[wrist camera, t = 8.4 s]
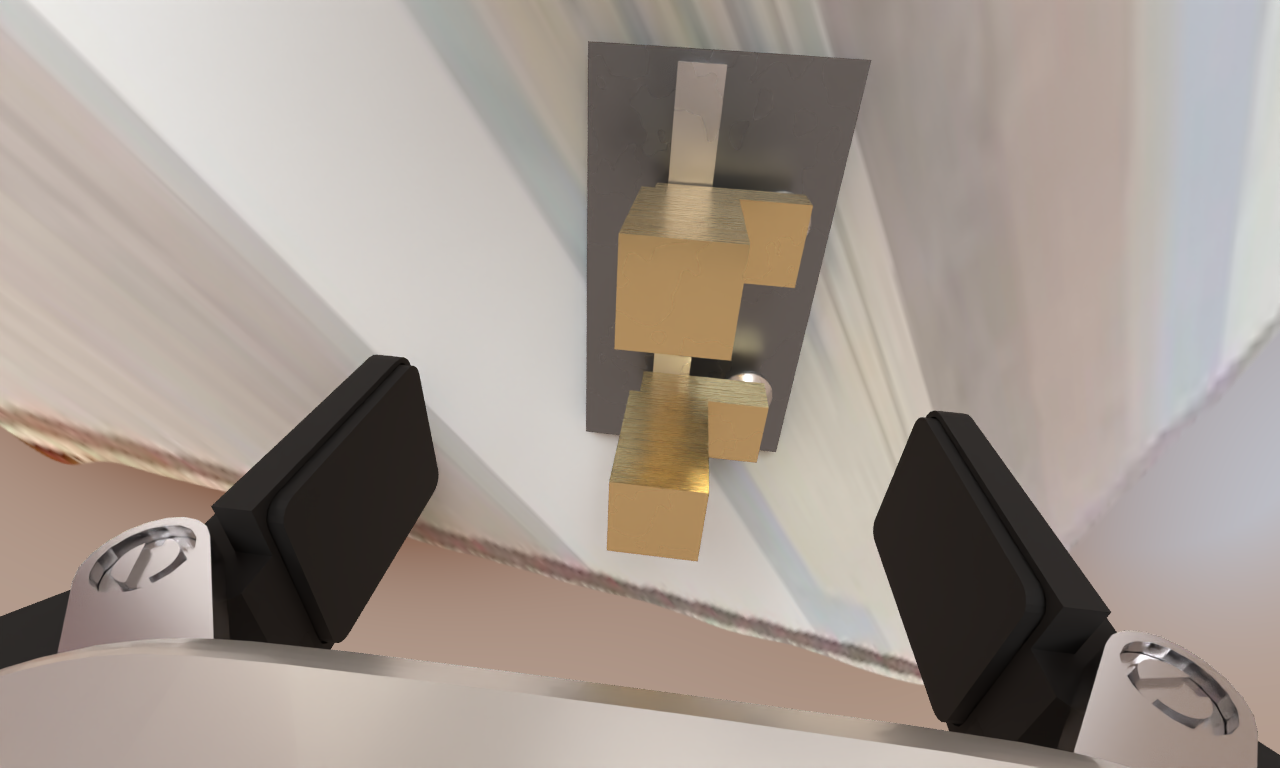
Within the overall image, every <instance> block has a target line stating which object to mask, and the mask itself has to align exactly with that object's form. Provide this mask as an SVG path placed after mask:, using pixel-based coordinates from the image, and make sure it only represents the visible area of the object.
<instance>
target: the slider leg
mask: <svg viewBox="0 0 1280 768" xmlns="http://www.w3.org/2000/svg"><path fill="white" fill-rule="evenodd" d="M812 208H813V205H812V203H811V202H810V200H809V199H808V198H807V196H806V195H803V194H791V193H779V192H766V191H754V190H742V189H729V188H717V187H705V186H692V185H680V184H668V183H657V184H656V186H655V187H645V186H641V188H640V191H639V193H638V195H637V197H636V199H635V201H634V203H633V205H632V207H631V209H630V211H629V213H628V215H627V217H626V219H625V221H624V223H623V226H622V228H621V230H620V232H619V238H618V265H617V293H616V320H615V348H614V349H618V350H628V351H639V352H649V353H659V354H669V355H679V356H689V357H699V358H709V359H719V360H729V361H731V357H732V351H733V345H734V339H735V333H736V327H737V321H738V315H739V309H740V303H741V297H742V291H743V285H744V283H745V284H756V285H767V286H778V287H789V288H795V285H796V280H797V276H798V271H799V267H800V262H801V258H802V253H803V249H804V244H805V240H806V235H807V231H808V226H809V222H810V217H811V213H812Z"/></svg>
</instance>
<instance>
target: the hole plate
mask: <svg viewBox="0 0 1280 768" xmlns="http://www.w3.org/2000/svg"><path fill="white" fill-rule="evenodd" d="M870 63H871V60H860V59H845V58H830V57H815V56H800V55H785V54H770V53H755V52H740V51H725V50H710V49H695V48H680V47H665V46H650V45H635V44H620V43H605V42H590V41H588V213H587V397H586V431H588V432H597V433H606V434H616V435H620V437H619V441H618V446H617V450H616V455H615V459H614V464H613V468H612V472H611V477H610V481H609V505H608V533H607V550H608V551H616V552H625V553H633V554H641V555H649V556H658V557H666V558H674V559H682V560H691V561H698V555H699V549H700V543H701V538H702V532H703V526H704V520H705V514H706V508H707V502H708V496H709V457H710V458H719V459H729V460H738V461H747V462H756V463H757V458H758V454H759V450H763V451H772V452H776V449H777V445H778V441H779V437H780V433H781V429H782V425H783V420H784V416H785V412H786V408H787V404H788V400H789V396H790V392H791V388H792V383H793V379H794V375H795V371H796V367H797V363H798V359H799V355H800V351H801V346H802V342H803V338H804V334H805V330H806V326H807V322H808V318H809V314H810V309H811V305H812V301H813V297H814V293H815V289H816V285H817V281H818V277H819V272H820V268H821V264H822V260H823V256H824V252H825V248H826V244H827V240H828V235H829V231H830V227H831V223H832V219H833V215H834V211H835V207H836V203H837V198H838V194H839V190H840V186H841V182H842V178H843V174H844V170H845V166H846V161H847V157H848V153H849V149H850V145H851V141H852V137H853V133H854V129H855V124H856V120H857V116H858V112H859V108H860V104H861V100H862V96H863V92H864V87H865V83H866V79H867V75H868V71H869V67H870ZM657 183H668V184H680V185H692V186H705V187H717V188H729V189H742V190H754V191H766V192H779V193H791V194H803V195H806V196H807V198H808V199H809V200H810V202H811V203H812V205H813V208H812V213H811V217H810V222H809V226H808V231H807V235H806V240H805V244H804V249H803V253H802V258H801V262H800V267H799V271H798V276H797V280H796V285H795V288H789V287H778V286H767V285H756V284H745V283H744V285H743V291H742V297H741V303H740V309H739V315H738V321H737V327H736V333H735V339H734V345H733V351H732V357H731V361H729V360H719V359H709V358H699V357H689V356H679V355H669V354H659V353H649V352H639V351H628V350H618V349H614V348H615V320H616V293H617V265H618V238H619V232H620V230H621V228H622V226H623V223H624V221H625V219H626V217H627V215H628V213H629V211H630V209H631V207H632V205H633V203H634V201H635V199H636V197H637V195H638V193H639V191H640V188H641V186H645V187H655V186H656V184H657Z"/></svg>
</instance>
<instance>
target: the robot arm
mask: <svg viewBox="0 0 1280 768" xmlns="http://www.w3.org/2000/svg"><path fill="white" fill-rule="evenodd" d="M437 483H438V467H437V462H436V457H435V452H434V447H433V442H432V437H431V432H430V427H429V422H428V416H427V411H426V406H425V401H424V396H423V391H422V386H421V381H420V376H419V372H418V369H417V368H416V367H415V366H411V365H410V363H409V361H408V360H407V359H406V358H404V357H394V356H384V355H373V356H371V357H369V358H368V359H367V360H366V361H365V362H364V363H363V364H362V365H361V366H360V367H359V368H358V369H357V370H356V371H355V372H353V373H352V374H351V375H350V376H349V377H348V378H347V379H346V380H345V381H344V382H343V383H342V384H341V385H340V386H339V387H338V388H336V389H335V390H334V391H333V392H332V393H331V394H330V395H329V396H328V397H327V398H326V399H325V400H324V401H323V402H322V403H321V404H319V405H318V406H317V407H316V408H315V409H314V410H313V411H312V412H311V413H310V414H309V415H308V416H307V417H306V418H305V419H304V420H302V421H301V422H300V423H299V424H298V425H297V426H296V427H295V428H294V429H293V430H292V431H291V432H290V433H289V434H288V435H287V436H285V437H284V438H283V439H282V440H281V441H280V442H279V443H278V444H277V445H276V446H275V447H274V448H273V449H272V450H271V451H270V452H268V453H267V454H266V455H265V456H264V457H263V458H262V459H261V460H260V461H259V462H258V463H257V464H256V465H255V466H254V467H252V468H251V469H250V470H249V471H248V472H247V473H246V474H245V475H244V476H243V477H242V478H241V479H240V480H239V481H238V482H237V483H235V484H234V485H233V486H232V487H231V488H230V489H229V490H228V491H227V492H226V493H225V494H224V495H223V496H222V497H221V498H220V499H219V500H218V501H216V502H215V504H213V505H212V506H211V507H212V509H213V510H214V512H215V514H214V516H212V517H211V518H210V519H209V520H208V521H207V522H206V523H205V524H203V523H202V522H200V521H199V520H197V519H192V518H186V517H177V518H176V517H175V518H165V519H160V520H156V521H152V522H148V523H145V524H143V525H140V526H137V527H135V528H132V529H129V530H127V531H125V532H123V533H121V534H120V535H118V536H116V537H114V538H113V539H111V540H109V541H107V542H106V543H105V544H103V545H102V546H101V547H99V548H98V549H97V550H96V551H94V552H93V553H92V554H90V556H89V557H88V558H87V559H86V560H85V561H84V562H83V563H82V564H81V566H80V567H79V568H78V570H77V572H76V575H75V577H74V579H73V581H72V586H71V590H69V591H66V592H64V593H61V594H58V595H55V596H53V597H50V598H48V599H45V600H43V601H40V602H37V603H35V604H32V605H29V606H27V607H24V608H21V609H19V610H16V611H14V612H11V613H8V614H6V615H3V616H0V768H1280V755H1279V754H1277V753H1276V752H1274V751H1272V750H1271V749H1270V748H1268V747H1266V746H1265V745H1263V744H1262V743H1260V742H1258V731H1257V726H1256V722H1255V718H1254V715H1253V713H1252V712H1251V710H1250V708H1249V707H1248V705H1247V703H1246V702H1245V700H1244V698H1243V697H1242V696H1241V695H1240V694H1239V692H1238V691H1237V690H1236V689H1235V688H1234V687H1233V686H1232V685H1231V683H1230V682H1229V681H1228V680H1227V679H1226V678H1225V677H1224V676H1222V675H1221V674H1220V673H1219V672H1217V671H1216V670H1215V669H1214V668H1213V667H1212V666H1210V665H1209V664H1208V663H1207V662H1205V661H1204V660H1203V659H1201V658H1199V657H1198V656H1196V655H1195V654H1193V653H1192V652H1190V651H1188V650H1187V649H1185V648H1184V647H1182V646H1180V645H1178V644H1175V643H1173V642H1171V641H1169V640H1167V639H1165V638H1162V637H1160V636H1156V635H1152V634H1149V633H1145V632H1142V631H1125V630H1124V631H1121V632H1119V633H1117V632H1116V631H1115V629H1114V628H1113V626H1112V625H1111V623H1110V622H1109V621H1108V619H1107V617H1108V615H1109V614H1110V613H1111V611H1110V610H1109V609H1108V607H1107V606H1106V604H1105V603H1104V602H1103V601H1102V599H1101V597H1100V596H1099V595H1098V593H1097V592H1096V591H1095V589H1094V588H1093V586H1092V585H1091V584H1090V582H1089V581H1088V579H1087V578H1086V577H1085V575H1084V574H1083V573H1082V571H1081V570H1080V568H1079V567H1078V566H1077V564H1076V563H1075V561H1074V560H1073V558H1072V557H1071V556H1070V554H1069V553H1068V551H1067V550H1066V549H1065V547H1064V546H1063V545H1062V543H1061V542H1060V540H1059V539H1058V538H1057V536H1056V535H1055V533H1054V532H1053V531H1052V529H1051V528H1050V526H1049V525H1048V524H1047V522H1046V521H1045V519H1044V518H1043V517H1042V515H1041V514H1040V512H1039V511H1038V510H1037V508H1036V507H1035V505H1034V504H1033V503H1032V501H1031V500H1030V499H1029V497H1028V496H1027V494H1026V493H1025V492H1024V490H1023V489H1022V487H1021V486H1020V485H1019V483H1018V482H1017V480H1016V479H1015V478H1014V476H1013V475H1012V473H1011V472H1010V471H1009V469H1008V468H1007V466H1006V465H1005V464H1004V462H1003V461H1002V459H1001V458H1000V457H999V455H998V454H997V453H996V451H995V450H994V448H993V447H992V446H991V444H990V443H989V441H988V440H987V439H986V437H985V436H984V434H983V433H982V432H981V430H980V429H979V427H978V426H977V425H976V423H975V422H974V420H973V419H972V418H971V417H970V416H969V415H967V414H963V413H953V412H943V411H931V412H930V413H929V414H928V415H927V416H926V418H923V417H921V418H919V419H918V420H917V421H916V423H915V424H914V427H913V429H912V432H911V434H910V436H909V439H908V441H907V444H906V446H905V449H904V451H903V453H902V456H901V458H900V461H899V463H898V465H897V468H896V470H895V473H894V475H893V477H892V480H891V482H890V485H889V487H888V490H887V492H886V494H885V497H884V499H883V502H882V504H881V506H880V509H879V511H878V514H877V516H876V518H875V522H874V527H873V534H874V540H875V543H876V546H877V549H878V552H879V555H880V558H881V561H882V564H883V567H884V569H885V572H886V575H887V578H888V581H889V584H890V587H891V590H892V593H893V596H894V598H895V601H896V604H897V607H898V610H899V613H900V616H901V619H902V622H903V624H904V627H905V630H906V633H907V636H908V639H909V642H910V645H911V648H912V651H913V653H914V656H915V659H916V662H917V665H918V668H919V671H920V674H921V677H922V680H923V682H924V685H925V688H926V691H927V694H928V697H929V700H930V703H931V706H932V709H933V711H934V713H935V715H936V716H937V718H938V719H939V720H940V721H941V722H946V723H947V726H948V729H949V731H944V730H937V729H930V728H924V727H917V726H911V725H904V724H897V723H890V722H883V721H875V720H867V719H860V718H853V717H846V716H838V715H831V714H824V713H817V712H809V711H802V710H794V709H787V708H780V707H772V706H765V705H758V704H751V703H743V702H736V701H728V700H721V699H714V698H705V697H698V696H690V695H682V694H676V693H668V692H661V691H653V690H645V689H638V688H630V687H623V686H615V685H607V684H600V683H592V682H584V681H577V680H569V679H561V678H554V677H546V676H538V675H531V674H522V673H515V672H507V671H499V670H491V669H483V668H475V667H467V666H459V665H451V664H443V663H436V662H428V661H419V660H412V659H404V658H396V657H388V656H379V655H372V654H364V653H355V652H347V651H338V650H330V649H331V648H332V646H333V645H334V643H339V642H342V641H343V640H344V639H345V638H346V637H347V635H348V634H349V632H350V631H351V629H352V627H353V626H354V624H355V622H356V621H357V619H358V617H359V616H360V614H361V612H362V611H363V609H364V607H365V605H366V604H367V602H368V601H369V599H370V597H371V596H372V594H373V592H374V591H375V589H376V587H377V586H378V584H379V582H380V581H381V579H382V577H383V576H384V574H385V572H386V571H387V569H388V567H389V566H390V564H391V562H392V561H393V559H394V557H395V556H396V554H397V552H398V551H399V549H400V547H401V546H402V544H403V542H404V540H405V539H406V537H407V536H408V534H409V532H410V531H411V529H412V527H413V526H414V524H415V522H416V521H417V519H418V517H419V516H420V514H421V512H422V511H423V509H424V507H425V506H426V504H427V502H428V501H429V499H430V497H431V496H432V494H433V492H434V491H435V489H436V486H437Z"/></svg>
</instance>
